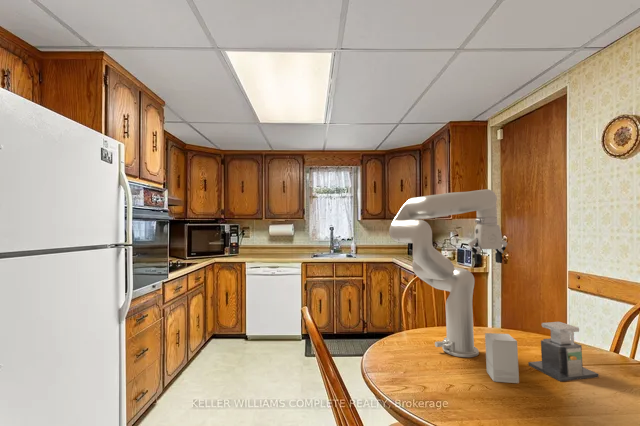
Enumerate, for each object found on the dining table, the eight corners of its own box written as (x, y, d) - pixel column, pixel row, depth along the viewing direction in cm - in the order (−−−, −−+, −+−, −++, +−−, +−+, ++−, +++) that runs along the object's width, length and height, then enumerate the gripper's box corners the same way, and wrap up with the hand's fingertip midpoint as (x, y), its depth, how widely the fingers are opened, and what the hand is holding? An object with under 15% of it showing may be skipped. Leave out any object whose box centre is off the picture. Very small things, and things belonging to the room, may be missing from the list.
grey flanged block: (568, 362, 100) (567, 331, 100) (542, 350, 109) (541, 323, 110) (587, 360, 101) (586, 330, 102) (560, 349, 110) (559, 321, 111)
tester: (560, 381, 99) (558, 351, 99) (528, 365, 111) (527, 338, 111) (598, 377, 101) (597, 347, 102) (563, 361, 113) (562, 335, 114)
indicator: (572, 360, 100) (572, 357, 100) (569, 359, 101) (569, 356, 101) (576, 359, 100) (576, 357, 100) (574, 358, 101) (574, 356, 101)
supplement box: (519, 383, 98) (518, 341, 99) (493, 381, 99) (491, 339, 100) (510, 373, 105) (509, 333, 106) (485, 371, 107) (484, 332, 107)
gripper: (473, 221, 130) (475, 264, 129) (512, 221, 133) (513, 263, 132) (462, 222, 138) (464, 262, 137) (498, 221, 141) (500, 261, 140)
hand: (488, 263), depth 135 cm, fingers open, 9 cm apart
